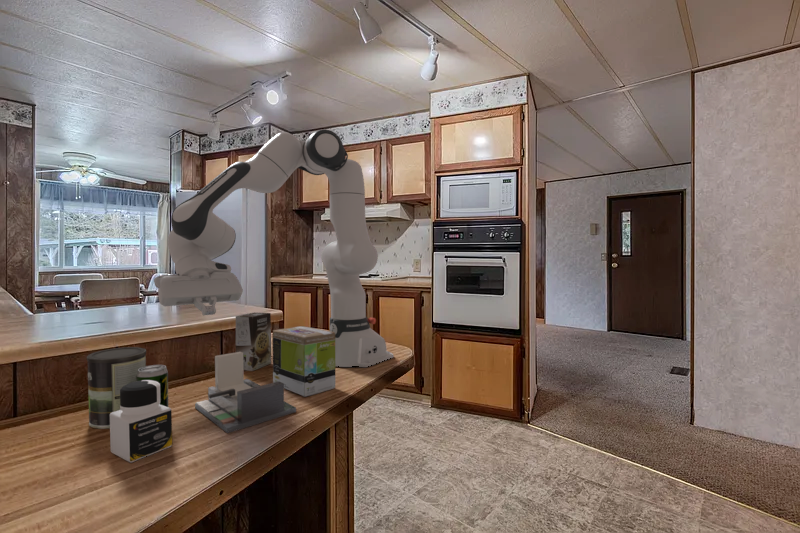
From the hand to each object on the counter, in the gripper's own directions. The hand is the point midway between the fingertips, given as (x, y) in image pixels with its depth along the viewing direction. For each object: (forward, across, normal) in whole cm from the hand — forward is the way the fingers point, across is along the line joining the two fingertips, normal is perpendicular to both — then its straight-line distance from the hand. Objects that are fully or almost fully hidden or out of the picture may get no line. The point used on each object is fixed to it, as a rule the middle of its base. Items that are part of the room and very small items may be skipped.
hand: (209, 313), depth 105 cm
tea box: (+25, +18, +3) cm, 31 cm away
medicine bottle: (+32, -21, -4) cm, 38 cm away
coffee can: (+18, -21, +9) cm, 29 cm away
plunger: (+24, -2, +2) cm, 24 cm away
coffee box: (+6, +17, +22) cm, 28 cm away
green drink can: (+25, -17, +2) cm, 31 cm away
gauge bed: (+28, 0, -1) cm, 28 cm away
